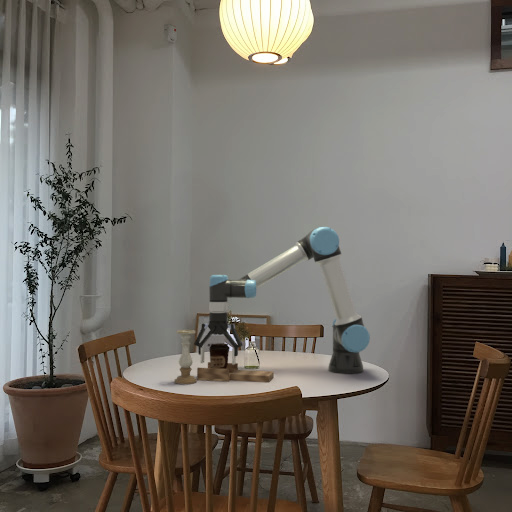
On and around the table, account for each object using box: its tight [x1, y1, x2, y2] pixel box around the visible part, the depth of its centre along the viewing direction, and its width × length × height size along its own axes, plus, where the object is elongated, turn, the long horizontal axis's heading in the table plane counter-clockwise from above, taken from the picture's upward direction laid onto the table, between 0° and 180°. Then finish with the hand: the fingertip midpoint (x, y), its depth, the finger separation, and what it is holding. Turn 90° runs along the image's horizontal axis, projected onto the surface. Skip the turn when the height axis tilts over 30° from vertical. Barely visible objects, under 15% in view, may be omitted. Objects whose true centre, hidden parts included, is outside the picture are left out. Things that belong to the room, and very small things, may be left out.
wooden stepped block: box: [196, 361, 275, 383], centre depth 237 cm, size 29×15×5 cm, turn 77°
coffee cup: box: [208, 342, 231, 369], centre depth 239 cm, size 9×8×13 cm
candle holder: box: [174, 329, 198, 385], centre depth 229 cm, size 9×9×20 cm
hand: (218, 363), depth 239 cm, fingers open, 13 cm apart
